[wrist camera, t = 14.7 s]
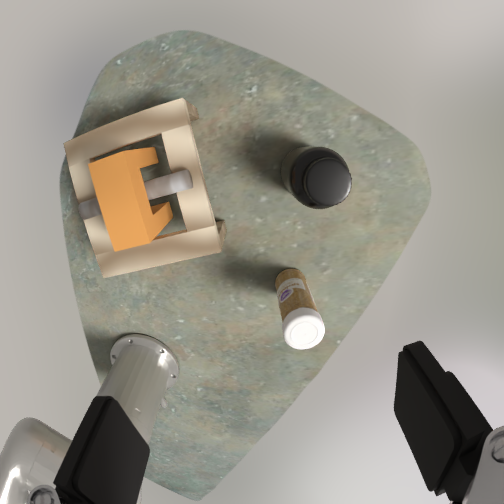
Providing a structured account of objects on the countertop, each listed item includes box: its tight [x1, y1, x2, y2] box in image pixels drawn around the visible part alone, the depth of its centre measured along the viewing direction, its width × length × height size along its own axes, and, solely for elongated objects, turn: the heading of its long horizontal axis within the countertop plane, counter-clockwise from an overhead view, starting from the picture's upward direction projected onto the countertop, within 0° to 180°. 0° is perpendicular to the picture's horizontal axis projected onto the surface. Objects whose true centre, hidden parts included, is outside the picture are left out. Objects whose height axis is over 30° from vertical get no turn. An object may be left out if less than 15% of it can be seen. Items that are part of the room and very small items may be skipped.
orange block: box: [88, 147, 173, 252], centre depth 32 cm, size 9×4×10 cm, turn 12°
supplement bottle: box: [281, 146, 352, 209], centre depth 34 cm, size 7×7×12 cm
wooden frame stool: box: [64, 98, 227, 278], centre depth 35 cm, size 17×15×11 cm
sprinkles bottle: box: [275, 269, 325, 349], centre depth 39 cm, size 5×5×14 cm
